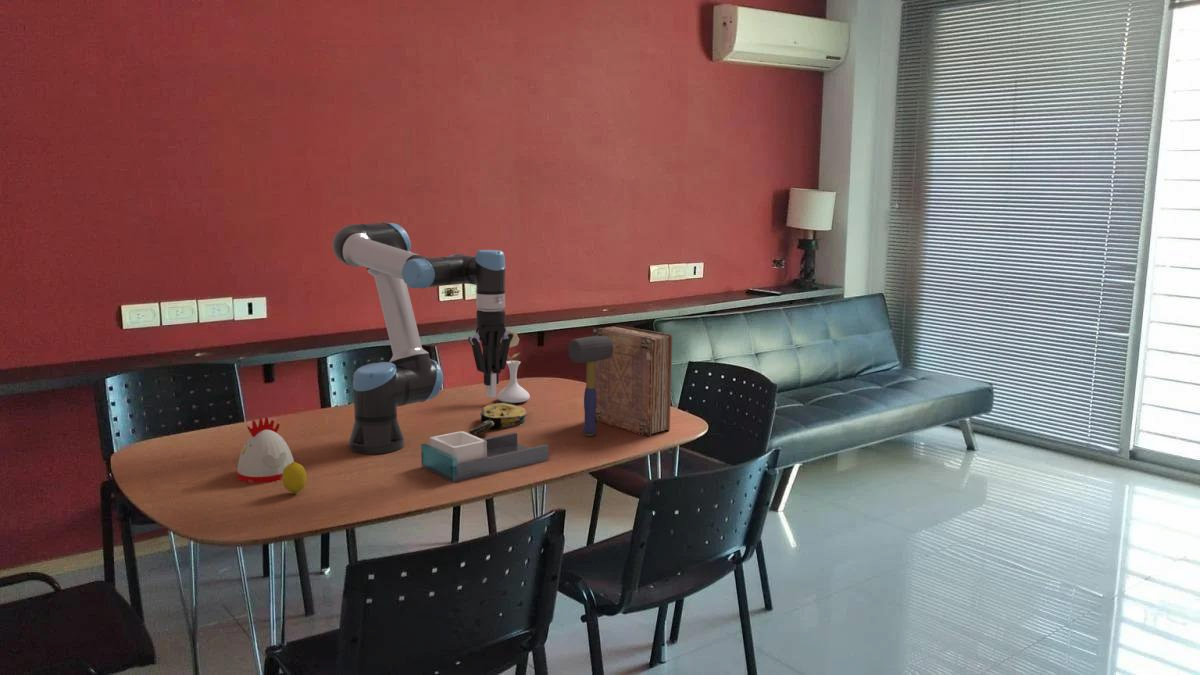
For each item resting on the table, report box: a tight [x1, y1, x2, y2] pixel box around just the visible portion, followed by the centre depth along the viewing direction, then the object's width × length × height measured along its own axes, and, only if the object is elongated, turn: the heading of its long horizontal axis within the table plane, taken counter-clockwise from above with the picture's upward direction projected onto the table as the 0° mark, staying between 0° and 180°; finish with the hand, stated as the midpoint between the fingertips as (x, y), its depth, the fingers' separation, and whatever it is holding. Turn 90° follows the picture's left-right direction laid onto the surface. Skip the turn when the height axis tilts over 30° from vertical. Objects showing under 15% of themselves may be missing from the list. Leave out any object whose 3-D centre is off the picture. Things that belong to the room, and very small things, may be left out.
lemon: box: [281, 461, 308, 495], centre depth 217 cm, size 6×6×8 cm
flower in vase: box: [496, 328, 531, 404], centre depth 307 cm, size 13×11×25 cm
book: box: [591, 324, 673, 437], centre depth 278 cm, size 25×9×30 cm, turn 44°
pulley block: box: [469, 401, 533, 437], centre depth 278 cm, size 14×6×30 cm
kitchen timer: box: [236, 416, 295, 484], centre depth 230 cm, size 14×14×15 cm
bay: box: [420, 431, 549, 483], centre depth 242 cm, size 30×16×6 cm, turn 130°
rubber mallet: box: [567, 336, 613, 437], centre depth 267 cm, size 12×8×30 cm, turn 124°
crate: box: [429, 430, 487, 464], centre depth 236 cm, size 10×12×7 cm
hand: (491, 396), depth 240 cm, fingers closed
